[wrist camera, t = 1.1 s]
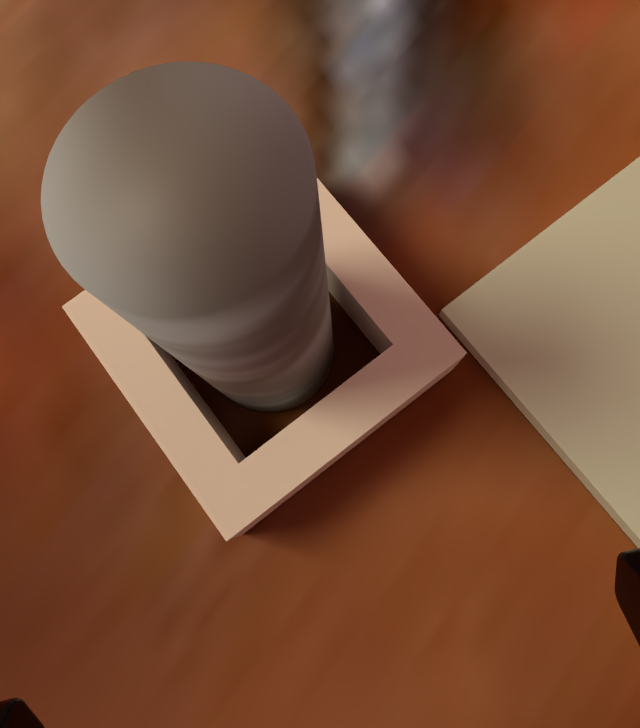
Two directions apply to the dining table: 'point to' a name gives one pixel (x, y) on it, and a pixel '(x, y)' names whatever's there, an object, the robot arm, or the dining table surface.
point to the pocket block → (313, 428)
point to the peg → (199, 226)
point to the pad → (572, 339)
